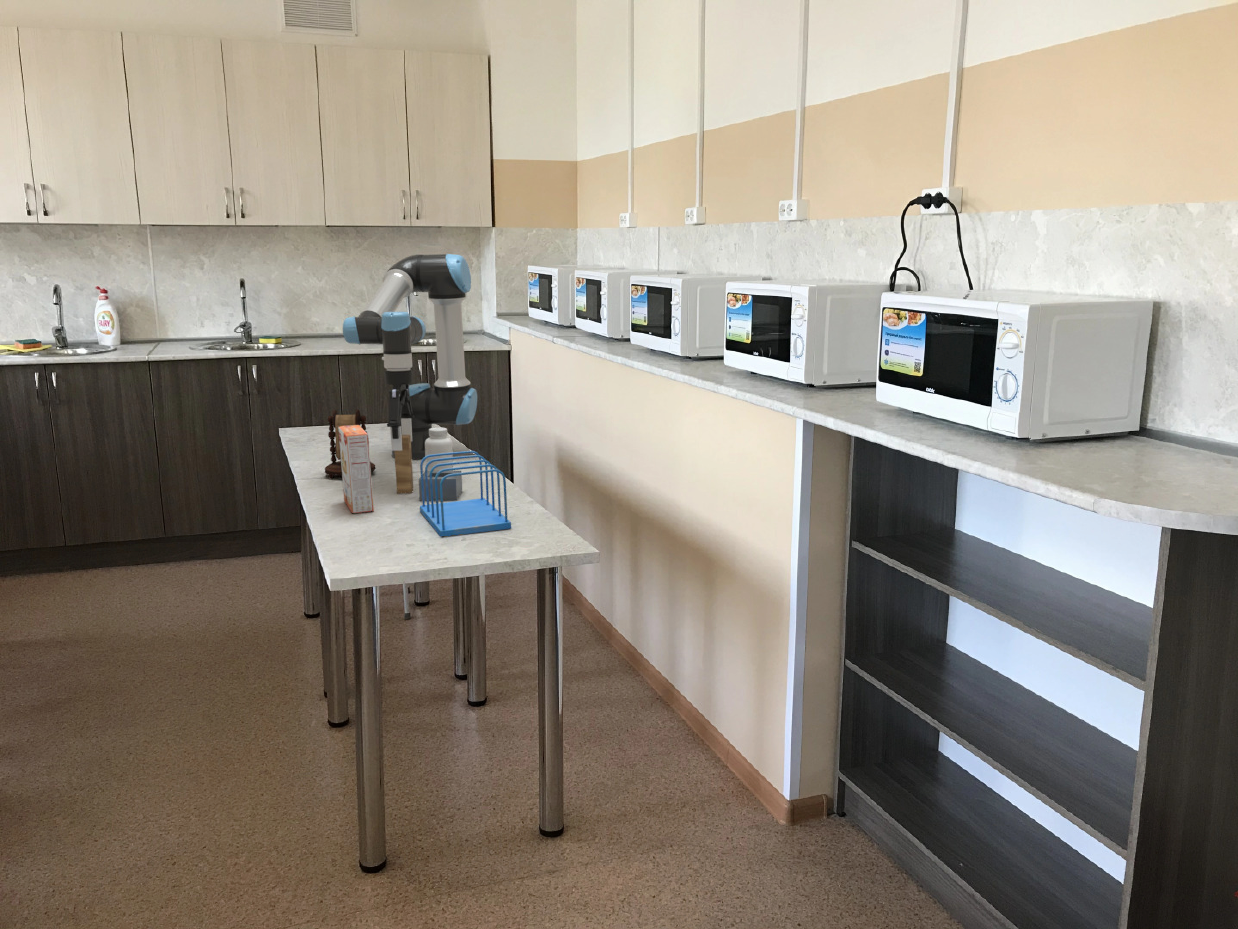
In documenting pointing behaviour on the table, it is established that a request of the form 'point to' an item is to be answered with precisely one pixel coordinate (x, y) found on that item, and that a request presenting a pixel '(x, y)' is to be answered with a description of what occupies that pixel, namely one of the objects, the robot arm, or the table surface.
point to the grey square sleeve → (443, 486)
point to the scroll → (336, 422)
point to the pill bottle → (438, 448)
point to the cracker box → (356, 468)
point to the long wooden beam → (404, 466)
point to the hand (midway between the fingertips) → (402, 445)
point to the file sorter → (467, 512)
